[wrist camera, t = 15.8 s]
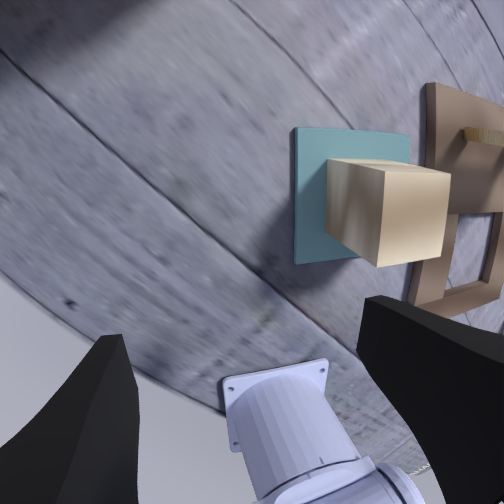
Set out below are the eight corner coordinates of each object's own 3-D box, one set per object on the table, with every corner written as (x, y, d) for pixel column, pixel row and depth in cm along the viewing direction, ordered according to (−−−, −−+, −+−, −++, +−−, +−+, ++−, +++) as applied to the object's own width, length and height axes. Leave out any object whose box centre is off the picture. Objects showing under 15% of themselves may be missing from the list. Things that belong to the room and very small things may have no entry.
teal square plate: (397, 248, 21) (400, 250, 21) (293, 262, 20) (296, 264, 19) (405, 135, 19) (409, 135, 18) (294, 127, 17) (297, 127, 16)
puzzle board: (492, 294, 27) (498, 298, 27) (401, 325, 24) (408, 331, 24) (517, 115, 21) (525, 116, 20) (425, 83, 18) (435, 82, 17)
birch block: (383, 226, 20) (440, 256, 15) (325, 232, 19) (376, 267, 14) (388, 160, 18) (451, 173, 13) (327, 158, 17) (385, 171, 12)
